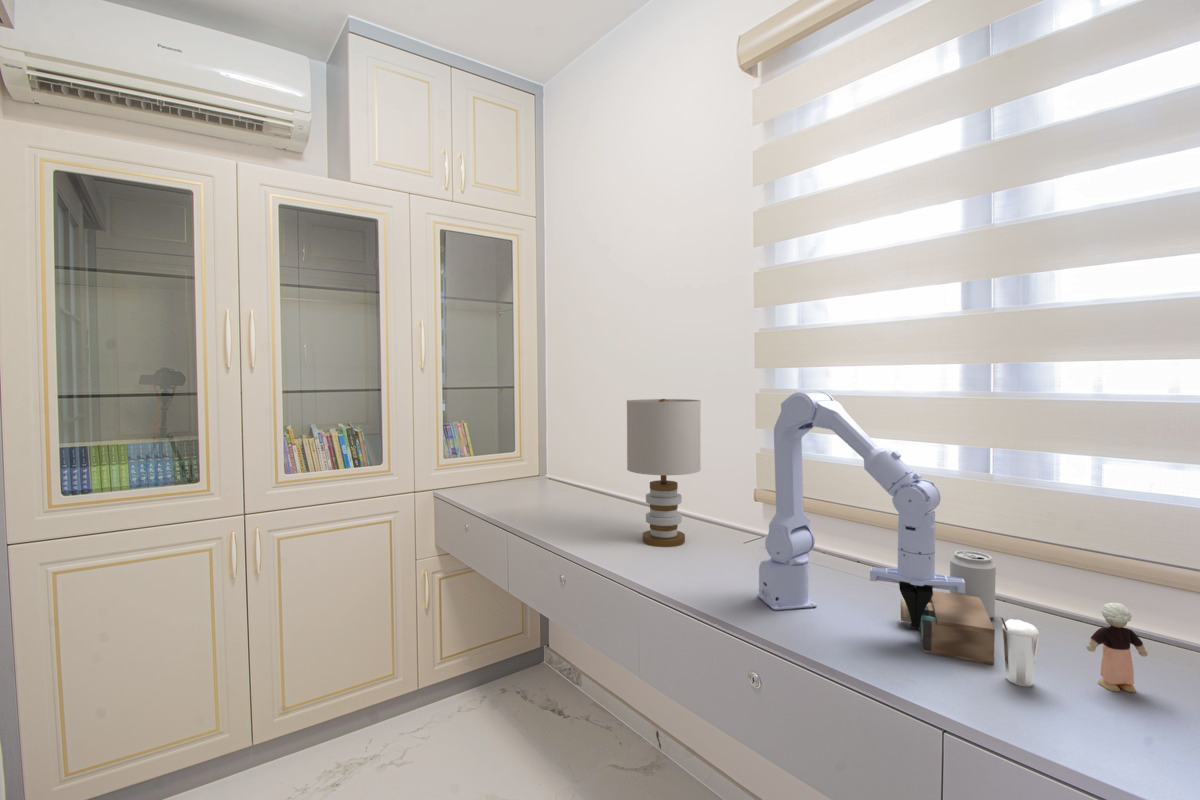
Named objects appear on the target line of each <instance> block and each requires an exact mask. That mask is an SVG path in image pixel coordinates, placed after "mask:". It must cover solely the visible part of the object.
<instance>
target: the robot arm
mask: <svg viewBox="0 0 1200 800" xmlns="http://www.w3.org/2000/svg"><path fill="white" fill-rule="evenodd" d="M815 427H816V428H822V429H826V430H829V431H830V430H831V431H832V432H834V434H836V435H837V436H838V437H839V438H840V439H841V440H843V442H845V444H847V445H848V446H849V447H850V448H851V449H852V450H854V452H855V453H857V455H859V456H860V457H861V458H862V459H863V468H864V470H865V471H866V472H867V473H868V474H869V475H870V477H872V478H873V479H874V480H875V481H876V482H877V483H878V484H879V485H880V486H881V487H882V489H884V490H885V492H887V494H888V495H889V496H891V497H892V498H891V500H892V504H893V507H894V508H895V509H896V512H898V522H897V524H898V525H897V567H896V568H891V567H890V568H888V567H872V566H870V567H869V569H870V570H869V581H871V582H877V581H880V582H887V583H892V584H898V586H899V591H900V594H901V596H902V599H904V600H905V603H906V605H907V608H908V611H909V614H910V618H911V622H910V625H911V628H913V629H918V630H919V625H920V620H921V617H922V614H923V612H924V610H925V608H926V606H927V604H928V603H929V601H930V600H931V598H932V596H933V591H934V589H936V590H937V589H938V590H944V591H945V590H947V591H950V590H952V591H957V592H958V593H965V581H964V579H961V578H954V577H950V575H943V574H940V573H936V571H935V569H936V568H935V567H936V565H935V563H936V511H935V509H937V508H938V506H939V505H940V502H941V493H940V491H939V489H938V487H936V485H935V483H934V482H933V481H931V480H929V479H926V478H925V479H924V478H922V474H920V473H919V472H915V471H914V470H912V469H911V468H910V467H909V465H907V464H906V463H905V462H904V461H903V460H902V459H901V457H902V454H901V453H900V452H898V451H897V450H895V451H893V450H892V449H890V448H888V447H879V446H878V445H877V443H875V442H874V440H873V439H872V438H871V437H870V436H869V435H868V434H867V433H866V432H865V431H864V430H863V429H862V428H861V426H860V425H858V423H856V421H855V420H854V419H853V418H852V417H851V416H850V415H849V414H848V412H847V411H846V410H845V408H844V407H843V406H842V404H841V403H840V402H838V401H837V400H835V399H834V398H833V396H832V395H831V394H830V393H827V392H825V391H815V392H801V391H799V392H794V393H792V394H790V395H789V396H788V397H787V398H785V400H783V402H781V403H780V413H779V415H778V418H777V420H776V422H775V424H774V427H773V452H774V453H773V454H774V478H775V479H774V480H775V482H774V484H775V514H774V516H773V518H772V519H771V520H770V522H769V524H768V532H767V533H768V534H767V536H766V537H765V543H764V544H765V549H766V551H767V554H768V555H769V556H770V558H768V559H766V560H762V561H761V562H760V564H759V567H758V593H757V595H756V596H757V597H758V598H759V599H760V600H762V601H763V603H765V604H766V605H768V606H769V607H770V608H771V609H772V610H774V611H778V610H793V609H803V608H804V609H805V608H808V609H809V608H816V607H817V606H818V604H817V603H816V602H814V601H813V600H812V599H810V598H809V558H810V557H809V556H810V554H809V553H810V552H811V551H812V550H814V547H815V544H816V543H815V542H816V541H815V539H816V538H815V536H814V532H813V530H812V529H811V521H810V519H809V517H808V516H807V515H806V514H805V512H804V511H805V509H804V483H803V481H804V480H803V448H802V447H803V446H802V445H803V444H802V443H803V442H802V438H803V437H804V436H805V435H806V434H808V432H810V431H811V430H812V429H813V428H815Z"/></svg>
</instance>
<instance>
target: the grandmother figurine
mask: <svg viewBox="0 0 1200 800" xmlns="http://www.w3.org/2000/svg"><path fill="white" fill-rule="evenodd" d="M1101 614H1102V617H1103V618H1104V620H1105V621H1106V623H1107V624H1108V625H1110V626H1106V627H1100V628H1098V629H1097V630H1096V631H1095V632H1094V633H1093V634H1092V635H1091V636H1090V640H1089V641H1088V644H1087V645H1086V650H1087V651H1089V652H1093V653H1094V652H1095V651H1096V649H1097V648H1098V646H1099V645H1102V658H1101V665H1100V676H1101V677H1102V678H1100V679H1099V680H1098V681H1097V682H1098V685H1100V686H1101V687H1103V688H1105V689H1106V690H1108V691H1112V692H1120V691H1121V689H1122V690H1123V691H1126V692H1130V693H1136V692H1137V690H1136V688H1135V685H1134V684H1135V678H1134V677H1135V671H1134V670H1135V669H1134V665H1133V660H1132V658H1133V656H1132V653H1131V645H1133V646H1134V648H1135V650H1137V652H1138V655H1139V656H1141V657H1147V656H1148V654H1149V653H1148V651H1147V650H1146V648H1145V645H1144V643H1143V641H1142V640H1141V639H1140V638H1139V636H1138V634H1137V633H1135V632H1134V631H1133V630H1132V628H1131V629H1130V628H1128V627H1126V626H1127V624H1128V622H1131V621H1132V617H1133V616H1132V614H1131V612H1130V610H1129V609H1128V608H1127V607H1126V606H1125V605H1124V604H1123V603H1119V602H1108V603H1105V604H1104V605H1103V606H1102V609H1101Z"/></svg>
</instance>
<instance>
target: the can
mask: <svg viewBox="0 0 1200 800" xmlns="http://www.w3.org/2000/svg"><path fill="white" fill-rule="evenodd" d="M953 554H954V555H953V556H952V557H951V558H950V559H949V560H950V561H949V577H954V578H961V579H964V581H965V593H958V592H957V591H952V590H949V593H952V594H959V595H966V596H974V597H980V599H981V601H982V603H983V605H984V608H985V610H986V612H987V614H988V616H989V618H990V619H991V618H993V617H995V616H996V615H995V613H996V574H997V573H996V572H997V571H996V569H997V568H996V566H997V565H996V564H995V562H993V560H992V559H993V557H992V556H991V555H990V554H987V553H984V552H979V551H975V550H964V549H963V550H961V549H960V550H956V551H954V553H953Z"/></svg>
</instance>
